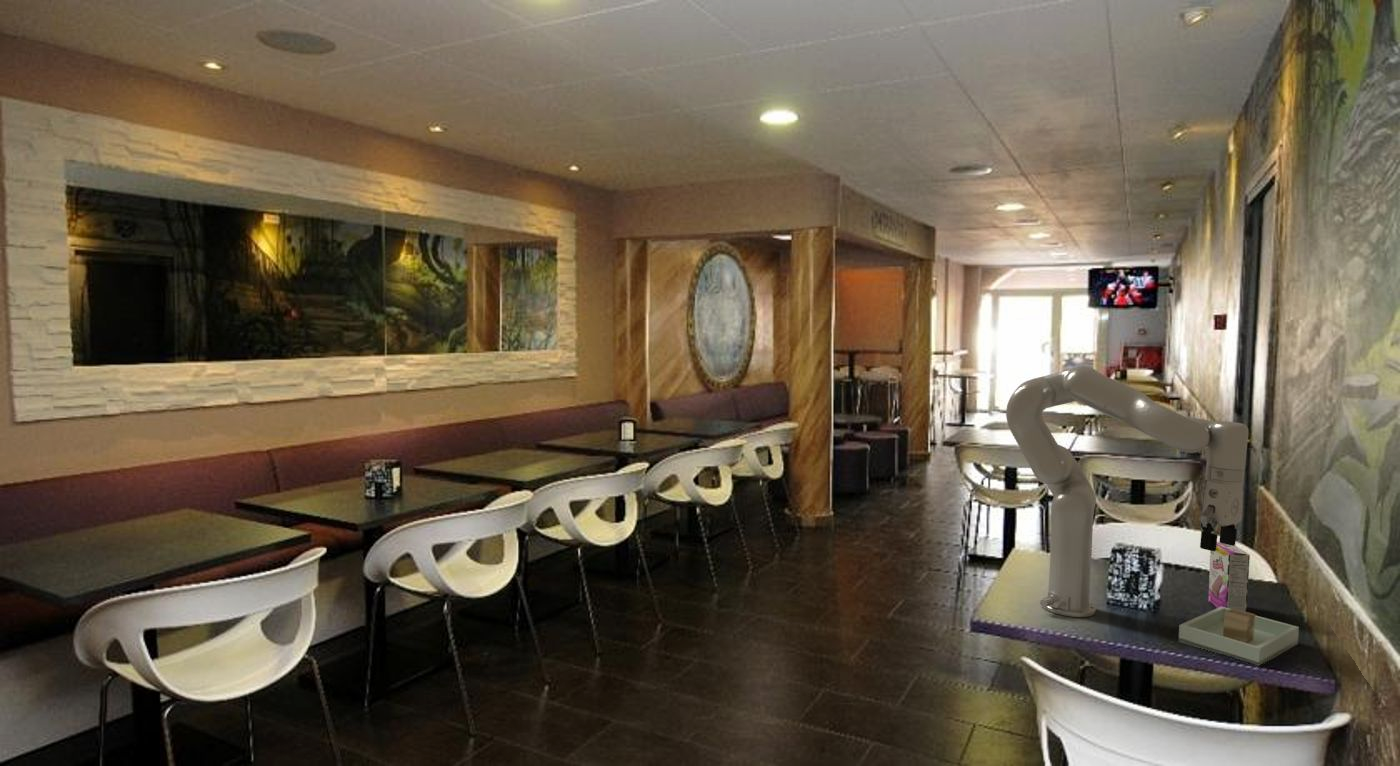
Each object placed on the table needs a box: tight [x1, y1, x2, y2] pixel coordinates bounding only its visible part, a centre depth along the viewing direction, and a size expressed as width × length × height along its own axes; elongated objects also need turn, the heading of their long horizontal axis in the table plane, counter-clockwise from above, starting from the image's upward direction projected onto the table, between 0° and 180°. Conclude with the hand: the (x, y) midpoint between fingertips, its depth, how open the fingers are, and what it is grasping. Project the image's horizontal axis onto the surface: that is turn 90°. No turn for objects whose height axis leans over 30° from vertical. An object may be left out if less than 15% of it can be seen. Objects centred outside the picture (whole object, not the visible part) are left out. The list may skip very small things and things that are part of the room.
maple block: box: [1223, 609, 1256, 643], centre depth 182 cm, size 4×4×6 cm
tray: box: [1178, 606, 1300, 667], centre depth 183 cm, size 22×16×4 cm
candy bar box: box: [1207, 541, 1251, 612], centre depth 204 cm, size 11×5×16 cm, turn 168°
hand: (1217, 546), depth 187 cm, fingers open, 9 cm apart
